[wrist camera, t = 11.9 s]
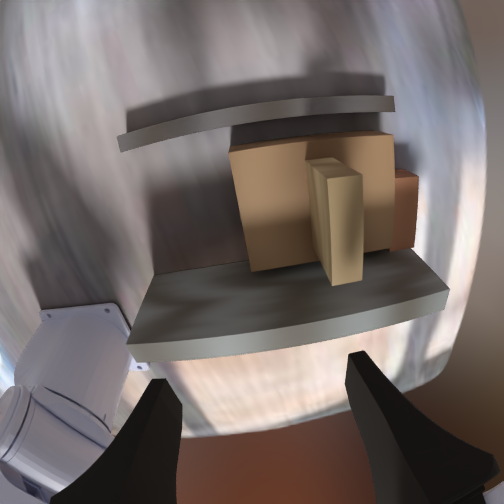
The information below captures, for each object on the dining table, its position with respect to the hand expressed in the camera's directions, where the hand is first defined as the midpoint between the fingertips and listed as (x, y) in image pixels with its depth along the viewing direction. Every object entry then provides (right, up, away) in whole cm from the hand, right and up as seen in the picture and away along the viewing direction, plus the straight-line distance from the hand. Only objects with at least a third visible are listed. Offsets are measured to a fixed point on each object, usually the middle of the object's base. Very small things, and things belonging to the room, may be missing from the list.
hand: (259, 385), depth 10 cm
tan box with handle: (+3, +9, +7) cm, 12 cm away
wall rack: (+1, +9, +7) cm, 11 cm away
